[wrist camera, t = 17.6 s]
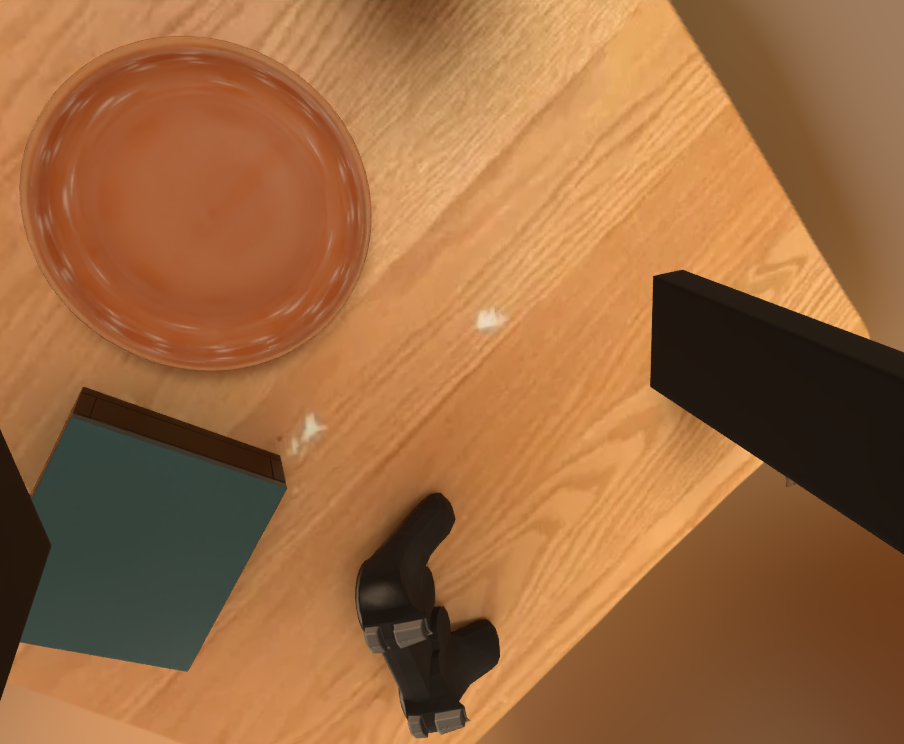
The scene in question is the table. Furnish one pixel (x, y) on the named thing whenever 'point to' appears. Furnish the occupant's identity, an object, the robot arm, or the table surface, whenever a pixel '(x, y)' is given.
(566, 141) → the table surface
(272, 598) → the table surface
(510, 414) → the table surface
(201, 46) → the saucer
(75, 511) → the box lid
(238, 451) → the open black box
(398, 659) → the game controller
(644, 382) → the table surface
